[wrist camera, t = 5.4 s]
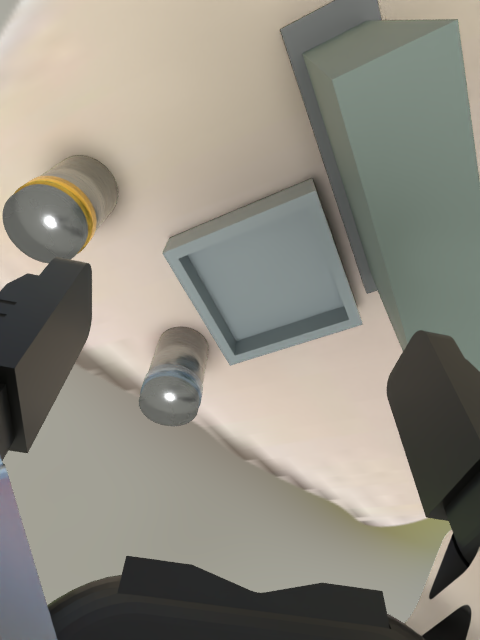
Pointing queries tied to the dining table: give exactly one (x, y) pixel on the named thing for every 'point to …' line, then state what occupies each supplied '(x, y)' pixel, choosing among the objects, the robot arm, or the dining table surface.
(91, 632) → the robot arm
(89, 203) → the grey gold-banded metal jar
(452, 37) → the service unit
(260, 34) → the dining table surface
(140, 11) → the dining table surface
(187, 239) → the tray
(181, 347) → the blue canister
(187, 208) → the dining table surface
